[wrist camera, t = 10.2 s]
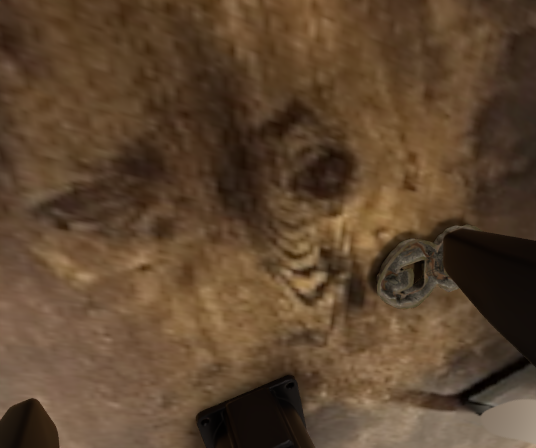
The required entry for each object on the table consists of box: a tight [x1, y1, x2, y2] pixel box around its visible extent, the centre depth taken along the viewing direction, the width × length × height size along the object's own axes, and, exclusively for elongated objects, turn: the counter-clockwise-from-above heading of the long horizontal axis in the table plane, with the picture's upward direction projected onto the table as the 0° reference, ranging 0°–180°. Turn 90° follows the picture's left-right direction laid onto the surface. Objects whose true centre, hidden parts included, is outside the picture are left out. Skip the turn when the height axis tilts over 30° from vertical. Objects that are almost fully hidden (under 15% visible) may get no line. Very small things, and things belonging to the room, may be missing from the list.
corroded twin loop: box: [376, 224, 483, 309], centre depth 27 cm, size 5×8×1 cm, turn 99°
